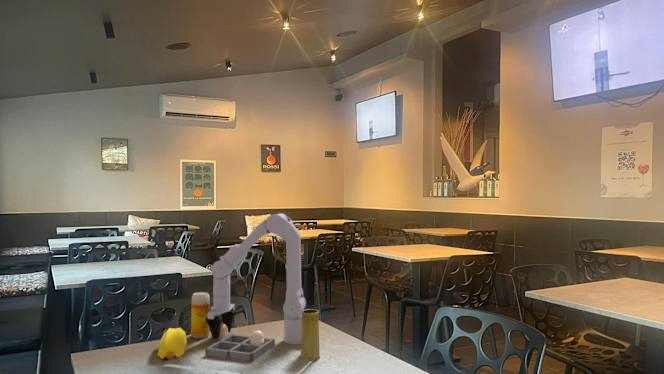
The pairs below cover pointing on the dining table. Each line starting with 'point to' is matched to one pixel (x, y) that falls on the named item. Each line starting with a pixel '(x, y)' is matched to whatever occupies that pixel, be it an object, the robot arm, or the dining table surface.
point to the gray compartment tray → (238, 348)
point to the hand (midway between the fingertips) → (221, 335)
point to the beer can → (200, 315)
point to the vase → (310, 334)
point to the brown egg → (223, 331)
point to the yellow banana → (172, 343)
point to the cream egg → (257, 338)
